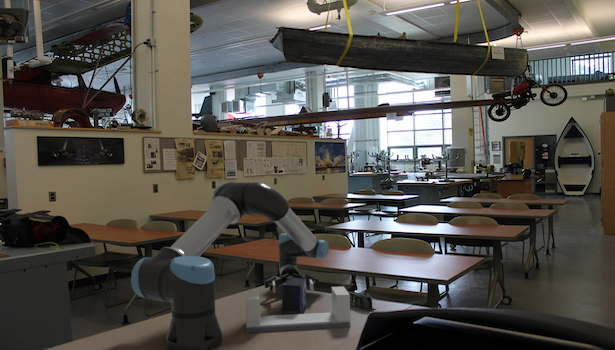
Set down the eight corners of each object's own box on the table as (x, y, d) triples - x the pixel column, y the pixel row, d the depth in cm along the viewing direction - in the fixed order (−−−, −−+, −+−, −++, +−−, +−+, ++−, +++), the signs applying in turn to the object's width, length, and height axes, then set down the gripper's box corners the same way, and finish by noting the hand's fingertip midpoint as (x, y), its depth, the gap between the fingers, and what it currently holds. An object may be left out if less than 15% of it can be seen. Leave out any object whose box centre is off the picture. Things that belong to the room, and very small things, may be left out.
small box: (300, 317, 145) (300, 285, 145) (281, 316, 146) (280, 284, 146) (307, 308, 155) (306, 277, 155) (289, 307, 156) (288, 277, 156)
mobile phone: (339, 290, 159) (371, 297, 148) (345, 289, 161) (377, 295, 150) (339, 304, 159) (371, 312, 148) (345, 303, 161) (377, 310, 150)
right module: (337, 321, 134) (336, 295, 134) (332, 311, 144) (331, 287, 144) (350, 321, 134) (349, 294, 134) (344, 311, 144) (343, 286, 144)
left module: (246, 326, 131) (245, 299, 131) (247, 316, 141) (246, 291, 141) (260, 326, 132) (259, 298, 132) (260, 315, 142) (259, 290, 142)
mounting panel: (246, 332, 131) (246, 326, 131) (247, 321, 141) (247, 316, 141) (350, 326, 134) (350, 321, 134) (344, 316, 144) (344, 311, 144)
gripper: (320, 283, 181) (328, 297, 160) (258, 286, 179) (258, 300, 158) (320, 264, 181) (327, 276, 160) (258, 267, 179) (257, 279, 158)
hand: (293, 288), depth 159 cm, fingers open, 13 cm apart
